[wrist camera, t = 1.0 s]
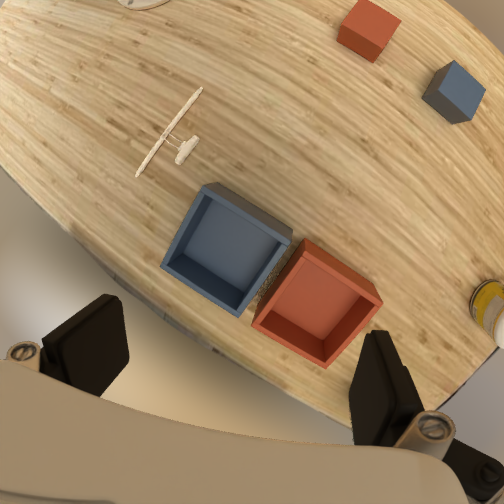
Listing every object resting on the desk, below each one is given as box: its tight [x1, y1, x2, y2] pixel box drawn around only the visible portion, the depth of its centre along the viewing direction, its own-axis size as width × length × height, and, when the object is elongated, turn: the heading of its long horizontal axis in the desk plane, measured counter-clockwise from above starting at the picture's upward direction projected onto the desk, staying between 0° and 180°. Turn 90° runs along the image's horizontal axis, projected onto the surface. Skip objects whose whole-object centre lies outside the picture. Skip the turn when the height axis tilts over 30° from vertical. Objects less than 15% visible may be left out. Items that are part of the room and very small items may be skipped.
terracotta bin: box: [251, 238, 383, 369], centre depth 35 cm, size 10×10×6 cm
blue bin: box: [160, 182, 293, 318], centre depth 34 cm, size 10×10×6 cm
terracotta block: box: [337, 0, 401, 63], centre depth 25 cm, size 5×5×5 cm
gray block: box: [422, 60, 486, 124], centre depth 26 cm, size 5×5×5 cm
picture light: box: [135, 87, 203, 178], centre depth 34 cm, size 14×4×2 cm, turn 140°
